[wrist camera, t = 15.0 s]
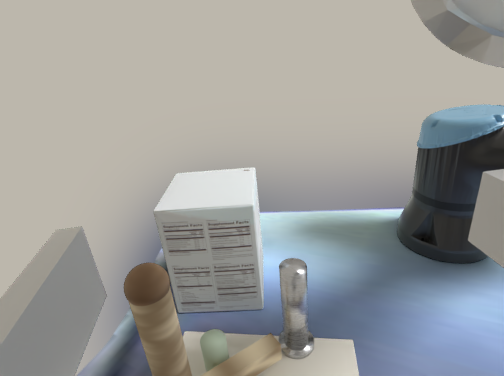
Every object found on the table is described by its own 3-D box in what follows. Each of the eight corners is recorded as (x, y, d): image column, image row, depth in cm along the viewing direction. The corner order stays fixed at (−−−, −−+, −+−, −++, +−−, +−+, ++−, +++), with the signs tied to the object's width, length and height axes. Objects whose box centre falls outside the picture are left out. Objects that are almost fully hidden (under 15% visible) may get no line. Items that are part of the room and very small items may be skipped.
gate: (268, 345, 41) (255, 210, 33) (286, 367, 38) (276, 224, 30) (162, 412, 35) (114, 265, 26) (174, 444, 32) (124, 289, 24)
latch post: (208, 351, 41) (203, 328, 39) (231, 353, 40) (228, 329, 39) (202, 373, 38) (196, 350, 37) (227, 375, 38) (222, 351, 36)
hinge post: (279, 328, 43) (274, 254, 38) (313, 330, 42) (312, 254, 37) (277, 358, 39) (271, 279, 34) (314, 360, 38) (313, 280, 34)
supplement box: (193, 259, 60) (175, 171, 53) (264, 255, 59) (256, 166, 52) (176, 314, 48) (150, 211, 41) (265, 310, 47) (254, 204, 40)
